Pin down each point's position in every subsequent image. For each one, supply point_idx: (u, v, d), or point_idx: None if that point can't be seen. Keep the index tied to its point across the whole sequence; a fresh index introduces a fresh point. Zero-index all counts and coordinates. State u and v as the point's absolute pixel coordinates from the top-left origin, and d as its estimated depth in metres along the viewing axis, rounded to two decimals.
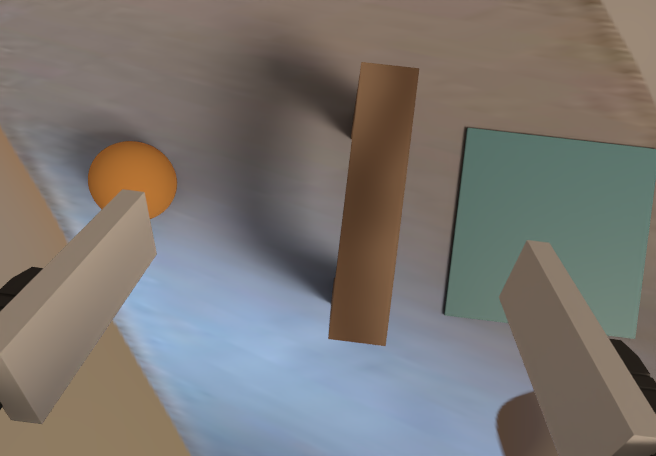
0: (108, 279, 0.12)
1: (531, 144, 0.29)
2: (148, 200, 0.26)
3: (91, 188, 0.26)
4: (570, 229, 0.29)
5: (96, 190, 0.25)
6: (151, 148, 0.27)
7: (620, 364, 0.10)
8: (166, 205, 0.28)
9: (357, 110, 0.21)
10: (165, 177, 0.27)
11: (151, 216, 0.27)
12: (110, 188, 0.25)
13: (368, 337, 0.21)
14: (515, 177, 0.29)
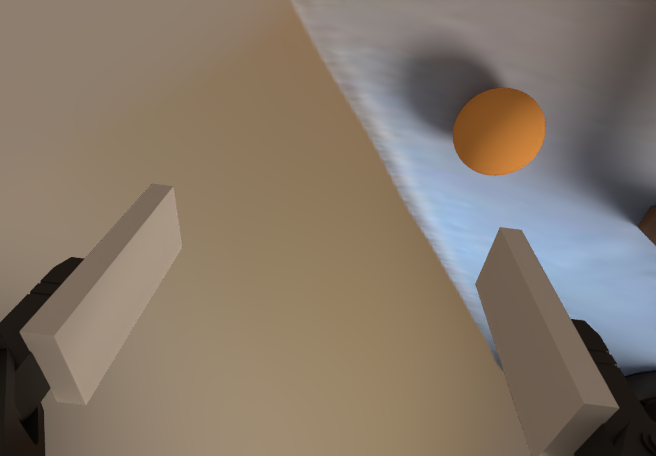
0: (142, 269, 0.12)
1: None
2: (527, 163, 0.25)
3: (474, 154, 0.25)
4: None
5: (484, 158, 0.24)
6: (534, 102, 0.24)
7: (579, 341, 0.10)
8: None
9: None
10: (544, 135, 0.25)
11: None
12: (503, 160, 0.24)
13: None
14: None
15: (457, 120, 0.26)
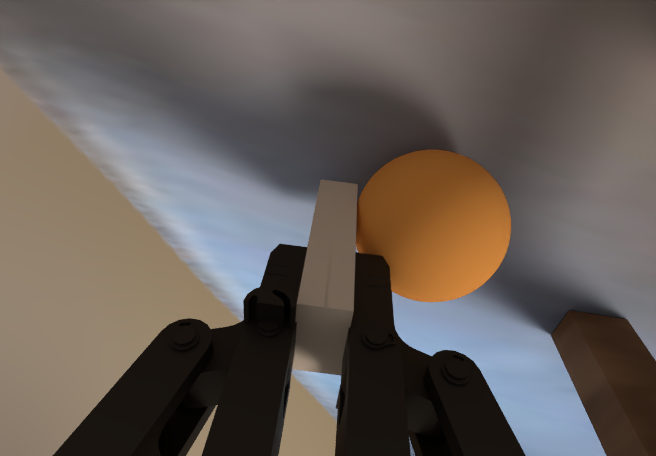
0: None
1: None
2: None
3: (454, 292, 0.13)
4: None
5: (469, 291, 0.13)
6: (479, 165, 0.14)
7: (354, 266, 0.12)
8: None
9: None
10: None
11: None
12: None
13: None
14: None
15: (392, 244, 0.13)
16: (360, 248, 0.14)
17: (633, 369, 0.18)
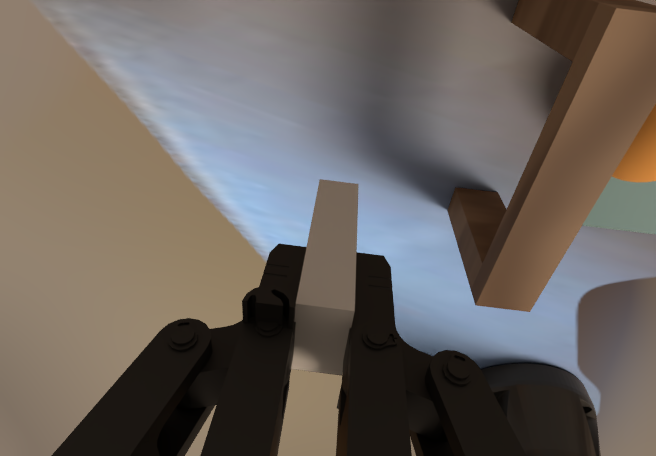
0: None
1: None
2: None
3: None
4: None
5: None
6: None
7: (355, 266, 0.12)
8: None
9: (582, 85, 0.15)
10: None
11: None
12: None
13: (515, 305, 0.22)
14: None
15: None
16: None
17: (489, 215, 0.25)
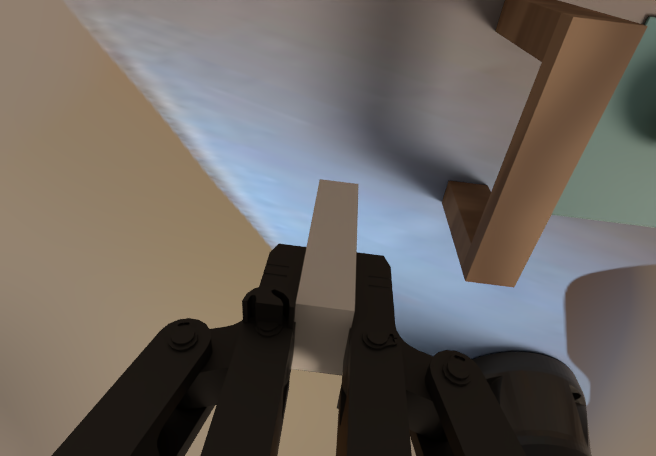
0: None
1: None
2: None
3: None
4: None
5: None
6: None
7: (355, 266, 0.12)
8: None
9: (549, 81, 0.17)
10: None
11: None
12: None
13: (500, 281, 0.24)
14: None
15: None
16: None
17: (478, 204, 0.28)
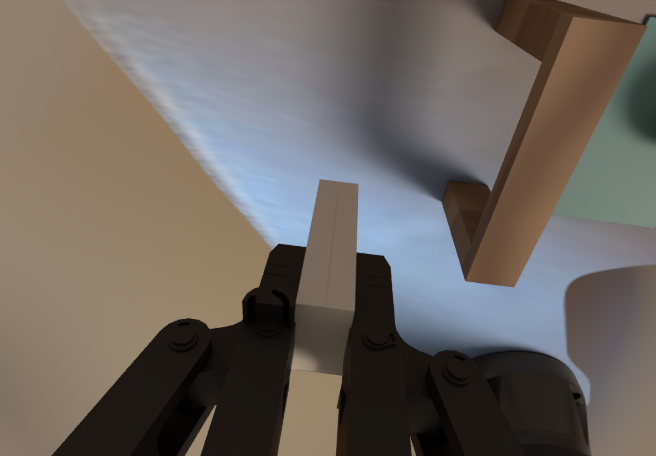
0: None
1: None
2: None
3: None
4: None
5: None
6: None
7: (355, 266, 0.12)
8: None
9: (549, 81, 0.17)
10: None
11: None
12: None
13: (500, 281, 0.24)
14: None
15: None
16: None
17: (478, 204, 0.28)
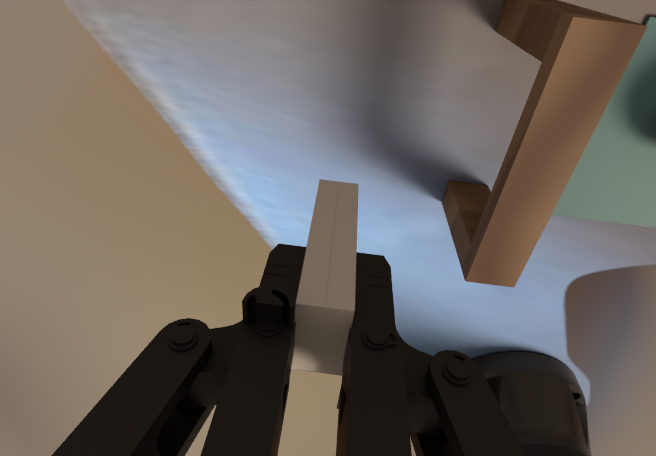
0: None
1: None
2: None
3: None
4: None
5: None
6: None
7: (355, 266, 0.12)
8: None
9: (549, 81, 0.17)
10: None
11: None
12: None
13: (500, 281, 0.24)
14: None
15: None
16: None
17: (478, 204, 0.28)
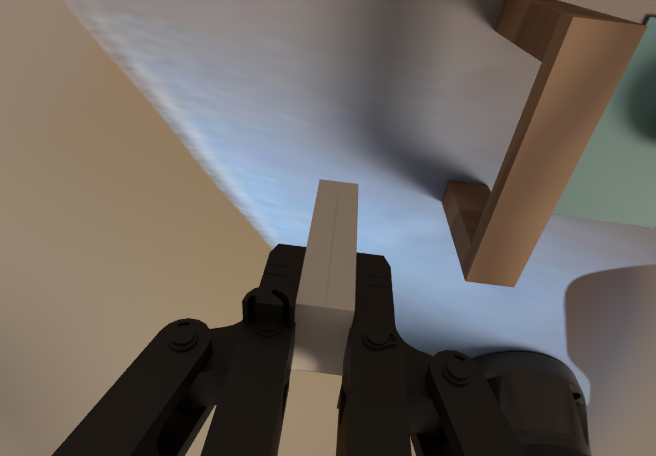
0: None
1: None
2: None
3: None
4: None
5: None
6: None
7: (355, 266, 0.12)
8: None
9: (549, 81, 0.17)
10: None
11: None
12: None
13: (500, 281, 0.24)
14: None
15: None
16: None
17: (478, 204, 0.28)
